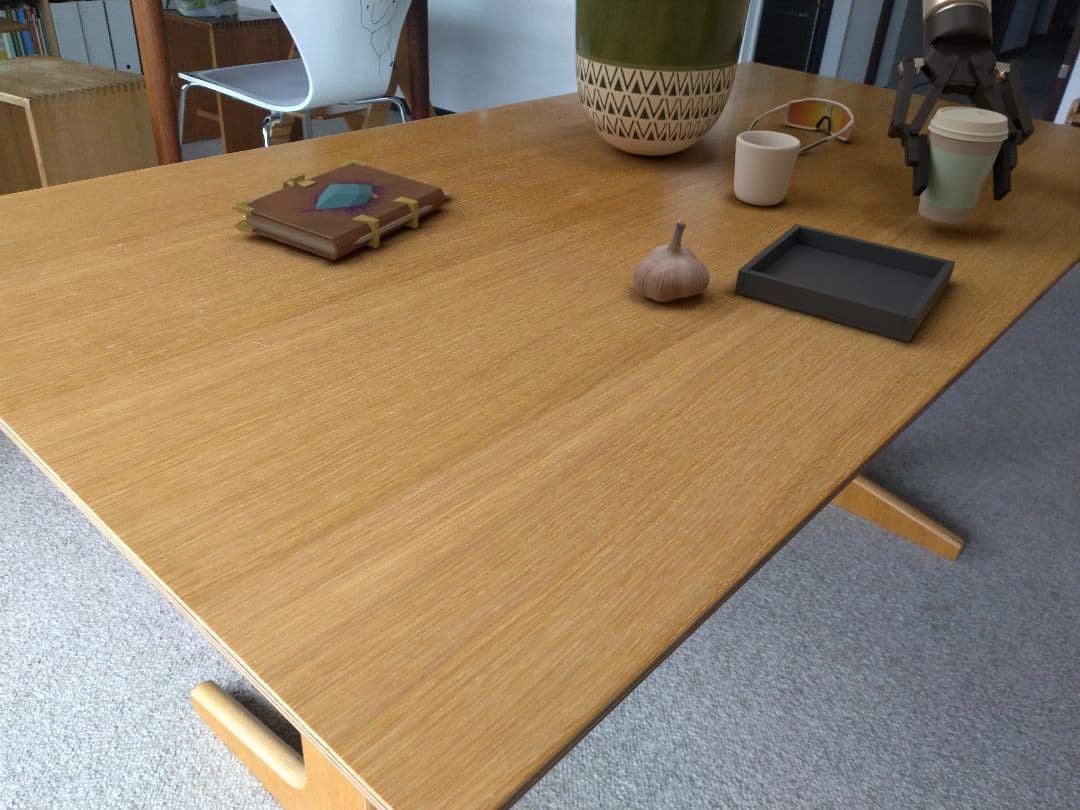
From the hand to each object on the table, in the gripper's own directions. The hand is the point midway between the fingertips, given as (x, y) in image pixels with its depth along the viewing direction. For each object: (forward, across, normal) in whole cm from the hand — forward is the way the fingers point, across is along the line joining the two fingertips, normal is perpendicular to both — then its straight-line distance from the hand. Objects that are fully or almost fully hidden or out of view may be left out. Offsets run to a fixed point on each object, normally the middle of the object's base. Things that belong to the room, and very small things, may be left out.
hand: (961, 192), depth 101 cm
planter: (-18, +35, -26) cm, 47 cm away
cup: (-4, +20, -13) cm, 25 cm away
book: (+7, +71, -1) cm, 71 cm away
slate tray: (+15, +15, +7) cm, 23 cm away
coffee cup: (+1, 0, -5) cm, 5 cm away
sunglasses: (-26, +11, -34) cm, 44 cm away
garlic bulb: (+19, +34, +10) cm, 40 cm away
